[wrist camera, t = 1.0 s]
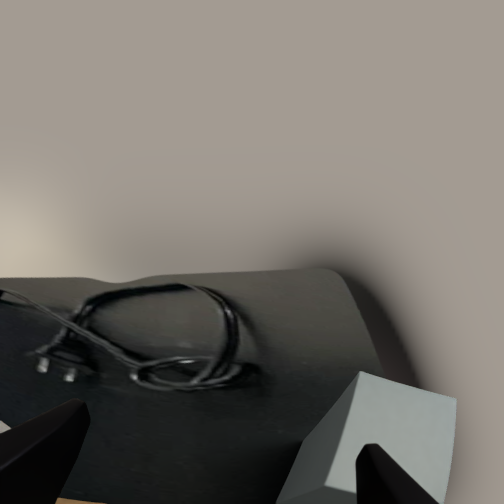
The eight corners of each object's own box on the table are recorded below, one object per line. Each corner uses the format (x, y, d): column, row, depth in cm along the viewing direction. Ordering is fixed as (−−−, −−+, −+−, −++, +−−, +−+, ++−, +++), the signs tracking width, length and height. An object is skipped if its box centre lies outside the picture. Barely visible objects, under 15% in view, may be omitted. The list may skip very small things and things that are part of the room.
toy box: (347, 522, 15) (444, 505, 7) (275, 503, 16) (323, 485, 9) (369, 459, 19) (457, 398, 12) (303, 440, 21) (359, 370, 13)
